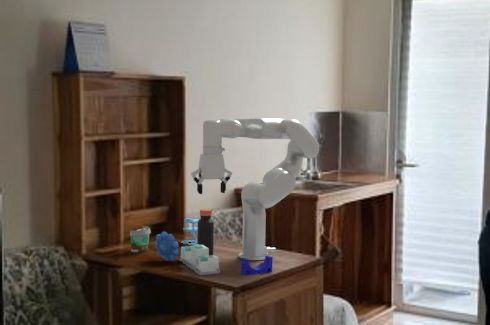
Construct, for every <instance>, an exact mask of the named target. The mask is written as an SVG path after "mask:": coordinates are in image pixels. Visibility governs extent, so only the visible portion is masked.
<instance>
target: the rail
mask: <svg viewBox="0 0 490 325" xmlns="http://www.w3.org/2000/svg"><path fill="white" fill-rule="evenodd" d="M179 261H180V262H181V261H182V262H183V264H184V265H185V264H186V265H185V266H186V267H188V268H189V267H190V270H192V271H193V270H194V272H195V273H196V274H198V275H199V276H204V275H205V276H206V275H216V274H220V266H219V265H220V257H219V256H217V255H215V254H213V255H211V256H197V257H196V266H194V265H193V264H191V246H190V245H186V246H181V247H180V257H179ZM182 262H181V263H182Z"/></svg>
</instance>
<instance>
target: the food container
mask: <svg viewBox="0 0 490 325" xmlns="http://www.w3.org/2000/svg"><path fill="white" fill-rule="evenodd" d="M141 227H142V228H137V229H135V230H130V231H129V237H130V251H131V252H130V253H131V254H145V253H148V251H149V241H150V234H152V232H151V228H150V227H149V226H145V225H142V226H141Z"/></svg>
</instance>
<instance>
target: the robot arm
mask: <svg viewBox="0 0 490 325" xmlns="http://www.w3.org/2000/svg"><path fill="white" fill-rule="evenodd" d="M223 138H224V139H225V138H226V139H237V138H249V139H254V140H255V139H256V140H289V141H288V144H287V147H286V148H287V149H286V150H287V152H286V156H285V158H284V159H283V160H282V161H281V162H280V163H278V164H277V165H275V166H274V167H272V168H271V169H270V170H269V171H267V172H266V173H265V174H264V175H263V176H262V177H263V178H262V183H259V182H256V181H255V182H253V181H252V182H251V181H250V182H248V183H246V184H245V185H244V186H243V187H242V189H241V195H240V196H241V202H242V203H241V205H242V249H241V250H242V251H241V252H239V253H238V258H239V259H241V258H246V259H248V260H249V261H264V260H265V256H269V254H270V253H275V252H276V251H277V249H276V247H270V246H266V226H267V225H266V222H267V221H266V220H267V219H266V217H267V214H266V209H269V208H272V207H273V206H275V205H277V204H278V203H280V202H281V200H283V199H285V198H286V197H287V196H288V195H290V194H291V193H292V192H293V190H294V189H295V187H296V183H297V182H296V181H297V179H296V176H297V175H299V174H300V172H301V170H302V168H303V163H304V162H303V161H304V159H313V158H315V157H317V156H318V154H319V152H320V144H319V142H318V141H317V139H316V138H315V136H313V134H312V133H311V132H310V131H309V130H308V129H307V128H306V127H305V126H304V124H303V123H302V122H300V121H299V120H297V119H291V118H220V119H205V120H204V121H203V124H202V153H200V156H199V162H198V168H197V169H196V170H194V171H192V172H191V173H190V175H191V177H192V180H193V181H194V182H195V183H196V186H197V187H196V191H197V193H198V194H199V195H203V184H202V183H203V182H204V180H220V181H221V182H220V193H222V194H225V192H226V190H227V184H228V181H229V180H230V179H231V177H232V175H233V172H232V171H231V170H229V169H227V168H225V167H226V166H225V159H224V154H222V153H223V152H225V150H226V149H225V147H223V146H222V140H223ZM225 174H226V175H225ZM197 176H198V178H197Z"/></svg>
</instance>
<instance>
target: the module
mask: <svg viewBox="0 0 490 325" xmlns="http://www.w3.org/2000/svg"><path fill="white" fill-rule="evenodd" d="M197 256H209V248H207V247H206V246H204V245H199V244H194V245H193V246H191V264H193V265H194V266H196V257H197Z"/></svg>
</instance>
